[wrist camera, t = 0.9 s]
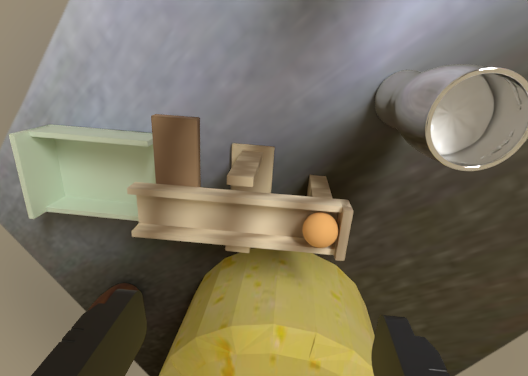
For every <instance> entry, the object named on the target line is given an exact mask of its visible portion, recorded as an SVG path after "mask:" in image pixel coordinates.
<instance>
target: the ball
mask: <svg viewBox="0 0 528 376" xmlns="http://www.w3.org/2000/svg"><path fill="white" fill-rule="evenodd" d="M302 231H303V236H304V238H305V240H306V241H307V242H308V243H309V244H310V245H312V246H314V247H317V248H325V247H328V246H330V245H331V244H333V243H334V242H335V240H336V239H337V236H338V225H337V222H336V221H335V219H334V218H333V217H332V216H330V215H329V214H327V213H323V212H317V213H313V214H311V215H310V216H308V217H307V219H306V220H305V221H304V224H303V229H302Z"/></svg>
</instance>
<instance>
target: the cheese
mask: <svg viewBox="0 0 528 376" xmlns="http://www.w3.org/2000/svg"><path fill="white" fill-rule="evenodd" d="M374 337H375V335H374V332H373V329H372V325H371V322H370V319H369V315H368V312H367V309H366V305H365V303H364V301H363V299H362V297H361V295H360V293H359V291H358V289H357V287H356V284H355V283H354V282H353V281H352V280H351V279H350V278H349V277H348V276H347V275H345V274H344V273H343V272H342V271H341V270H340V269H339V268H338V267H337V266H336V265H334V264H333V263H331V262H329V261H327V260H325V259H323V258H321V257H319V256H317V255H315V254H313V253H306V252H295V251H284V250H273V249H262V248H252V249H250V252H249V253H242V252H240V253H238V254H235V255H233V256H230V257H227V258H225V259H223V260H222V261H221V262H220V263H219V264H217V265H216V266H215V267H214V268H213V269H211V270H210V271H209V272H208V273H207V274H205V276H204V278H203V280H202V282H201V284H200V285H199V287H198V289H197V291H196V293H195V295H194V297H193V299H192V301H191V304H190V306H189V308H188V310H187V313H186V315H185V317H184V320H183V322H182V324H181V326H180V329H179V331H178V333H177V335H176V338H175V340H174V342H173V344H172V347H171V349H170V351H169V354H168V356H167V358H166V360H165V363H164V365H163V367H162V369H161V372H160V374H159V376H374V373H373V369H372V361H371V353H372V346H373V342H374Z"/></svg>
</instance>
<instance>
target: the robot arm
mask: <svg viewBox="0 0 528 376" xmlns="http://www.w3.org/2000/svg"><path fill="white" fill-rule="evenodd" d="M146 330H147V322H146V315H145V308H144V302H143V295H142V292H141V291H137V290H126V289H117V290H115V291H114V293H113V294H112V295H111V296H110V298H109V299H108V300H107V301H106V303H105V304H103V303H98V304H97V305H95V306H94V307H93V308H91V309H90V310H88V311H87V312H85V313H84V314H83V315H82V316H81V317H80V318H79V320H78V321H77V322H76V323H75V324H74V326H73V327H72V329H71V331H68V333H67V334H66V335H65V336H64V337H63V339H62V342H59V343H58V345H57V346H56V347H55V348H54V349H53V351H52V352H51V353H50V354H49V355H48V356H47V358H46V359H45V360H44V361H43V362H42V364H41V365H40V366H39V367H38V368H37V370H36V371H35V372H34V373H33V374H32V375H31V376H125V374H126V373H127V371H128V369H129V367H130V365H131V364H132V362H133V360H134V358H135V356H136V354H137V353H138V351H139V349H140V347H141V345H142V343H143V341H144V338H145V335H146ZM371 361H372V369H373V373H374V376H450V375H449V373H447V369H446V367H445V365H444V363H443V361H442V359H441V357H440V354H439V352H438V351H437V350H436V349H435V348H434V347H433V346H432V345H431V344H430V343H429V342H428V340H427V339H426V338H425V337H419V336H414V333H413V331H412V329H411V326H410V324H409V322H408V320H407V319H406V318H405V317H395V316H385V315H381V316H380V317H379V320H378V324H377V329H376V333H375V337H374V342H373V346H372V353H371Z"/></svg>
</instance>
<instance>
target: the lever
mask: <svg viewBox="0 0 528 376" xmlns="http://www.w3.org/2000/svg"><path fill="white" fill-rule="evenodd" d="M151 121H152V136H153V150H154V165H155V179H156V184H154V183H143V182H134V183H133V184H132V185H130V186H129V187H128V188H127V194H131V195H136V198H137V208H138V219H139V224H138V225H137V226H136V227H135V228H134V229H133V230H132V237H142V238H153V239H164V240H175V241H186V242H197V243H208V244H219V245H230V246H240V247H251V248H262V249H273V250H284V251H295V252H306V253H317V254H328V255H334V257H335V260H341V261H344V259H345V254H346V248H347V243H348V238H349V232H350V227H351V222H352V217H353V209H352V207H351V205H350V203H349V201H348V200H344V199H332V198H320V197H308V196H296V195H285V194H273V193H261V192H249V191H237V190H225V189H214V188H202V187H201V181H200V117H187V116H174V115H160V114H155V115H152V116H151ZM317 212H323V213H327V214H329V215H330V216H332V217H333V218H334V219H335V221H336V222H337V225H338V236H337V239H336V240H335V242H334V243H333V244H331V245H330V246H328V247H325V248H317V247H314V246H312V245H310V244H309V243H308V242H307V241H306V240H305V238H304V236H303V231H302V229H303V224H304V221H305V220H306V219H307V217H308V216H310V215H311V214H313V213H317Z"/></svg>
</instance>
